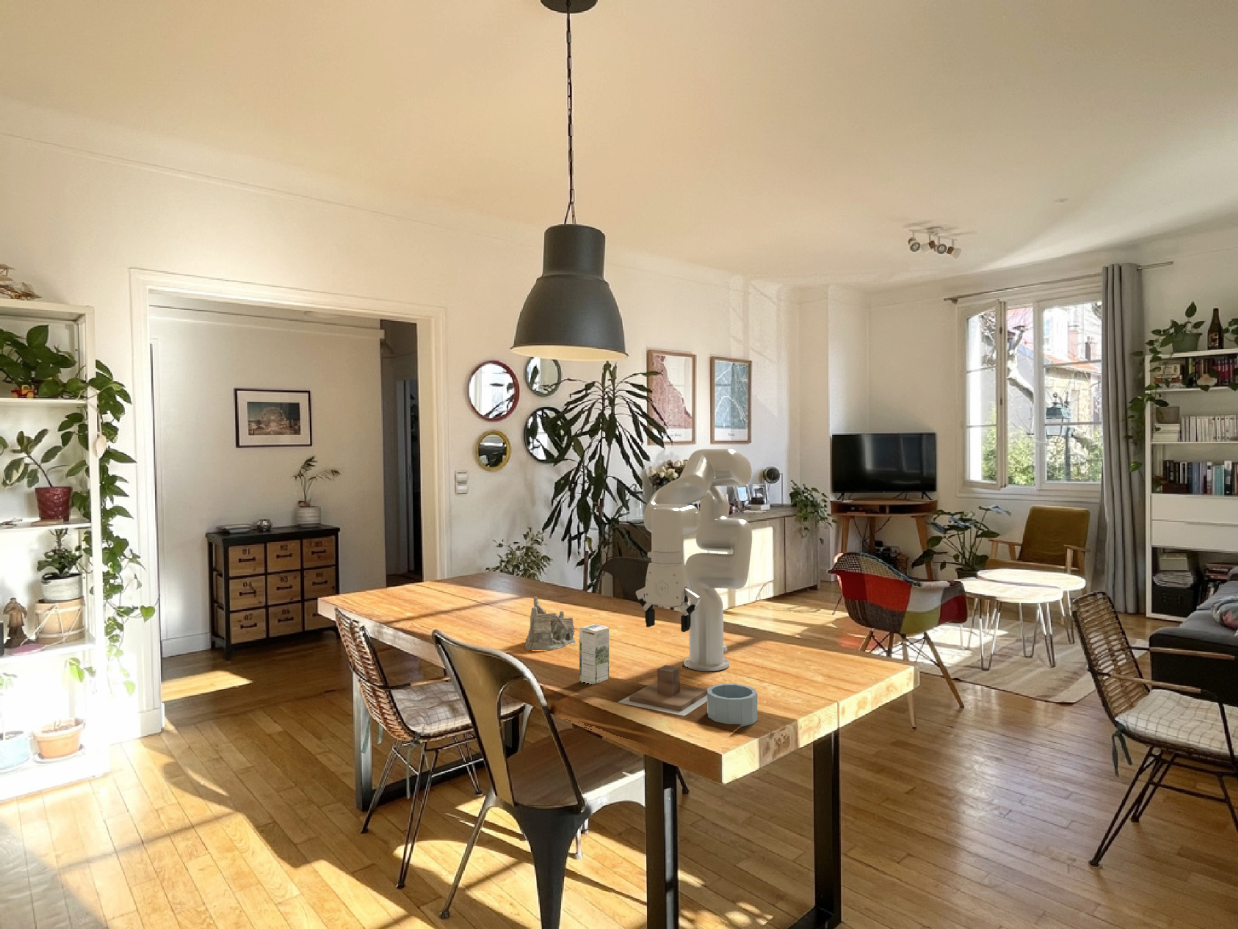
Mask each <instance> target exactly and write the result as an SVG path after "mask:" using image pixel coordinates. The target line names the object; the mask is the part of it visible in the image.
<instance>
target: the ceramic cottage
mask: <svg viewBox="0 0 1238 929" xmlns="http://www.w3.org/2000/svg"><path fill="white" fill-rule="evenodd" d="M575 632H576V629H575V626H574V618H573V617H565V613H564V611H563V610H560V611H559V614H557V612H549V613H548V612H547V611H546V610H545V609H544V608H543V607H542V606H541V604H540V603H539V599H538V596H534V597H533V606H532V607H531V611H530V616H529V630H528V633H527V636H526V638H525V644H524V645H525V647H524V648H525V650H526V649H527V650H526V651H528V650H550V651H554V650H553V649H555V650H557V649H556V648H558V647H562V648H564V647H567V646H566V645H568V644H571V643H574V644H576V641H575V638H574V637H575ZM563 646H564V647H563ZM558 649H559V648H558Z"/></svg>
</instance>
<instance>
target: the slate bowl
mask: <svg viewBox="0 0 1238 929" xmlns="http://www.w3.org/2000/svg"><path fill="white" fill-rule="evenodd" d="M706 704H707V705H706V709H707V712H706V713H707V717H708V718H709V719H710V720H712V721H715V722H716V723H722V724H726V725H738V727H739V728H740V727H741V728H742V727H746V726H751V725H753V724H755V723H756V722H757V721H758V691H757V690H756V689H755V688H754V687H752V686H749V685H745V684H739V683H720V684H719V683H718V684H715V685H712V686H710V687H708V688H707V702H706Z"/></svg>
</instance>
